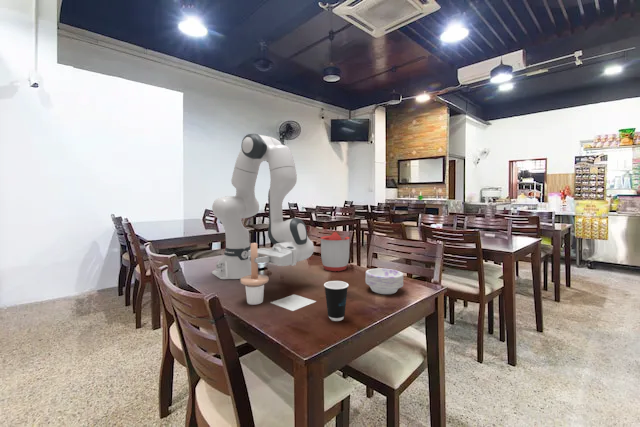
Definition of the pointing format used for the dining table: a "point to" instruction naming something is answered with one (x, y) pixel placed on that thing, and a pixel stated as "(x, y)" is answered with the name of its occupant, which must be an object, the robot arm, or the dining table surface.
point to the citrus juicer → (335, 252)
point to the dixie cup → (336, 299)
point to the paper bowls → (384, 280)
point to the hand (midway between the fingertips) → (252, 259)
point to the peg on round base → (254, 270)
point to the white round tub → (254, 294)
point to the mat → (293, 302)
